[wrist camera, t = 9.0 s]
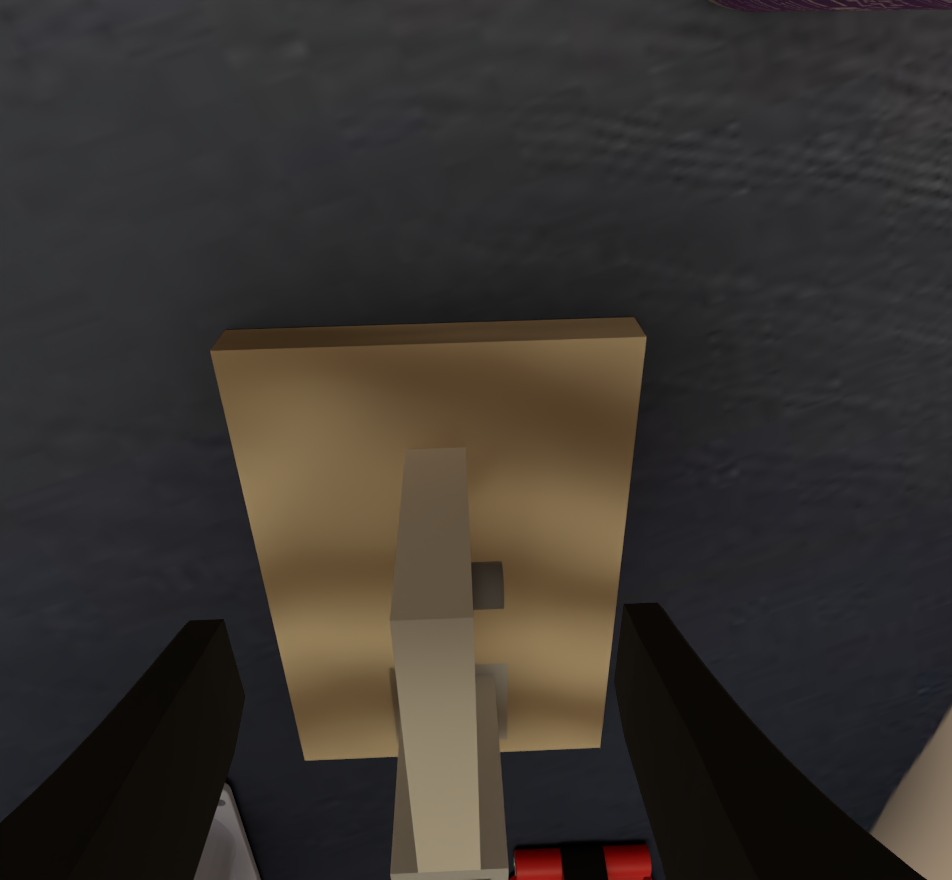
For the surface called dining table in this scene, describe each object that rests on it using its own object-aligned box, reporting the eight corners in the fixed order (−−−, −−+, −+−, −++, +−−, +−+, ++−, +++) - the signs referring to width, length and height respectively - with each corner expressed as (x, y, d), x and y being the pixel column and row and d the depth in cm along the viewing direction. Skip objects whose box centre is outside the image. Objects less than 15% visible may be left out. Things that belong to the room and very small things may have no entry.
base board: (593, 716, 30) (616, 824, 26) (311, 728, 30) (289, 839, 26) (634, 317, 21) (679, 389, 17) (224, 329, 21) (170, 406, 17)
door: (494, 733, 28) (507, 927, 22) (409, 736, 28) (399, 932, 22) (492, 446, 21) (510, 615, 15) (378, 450, 21) (352, 622, 15)
